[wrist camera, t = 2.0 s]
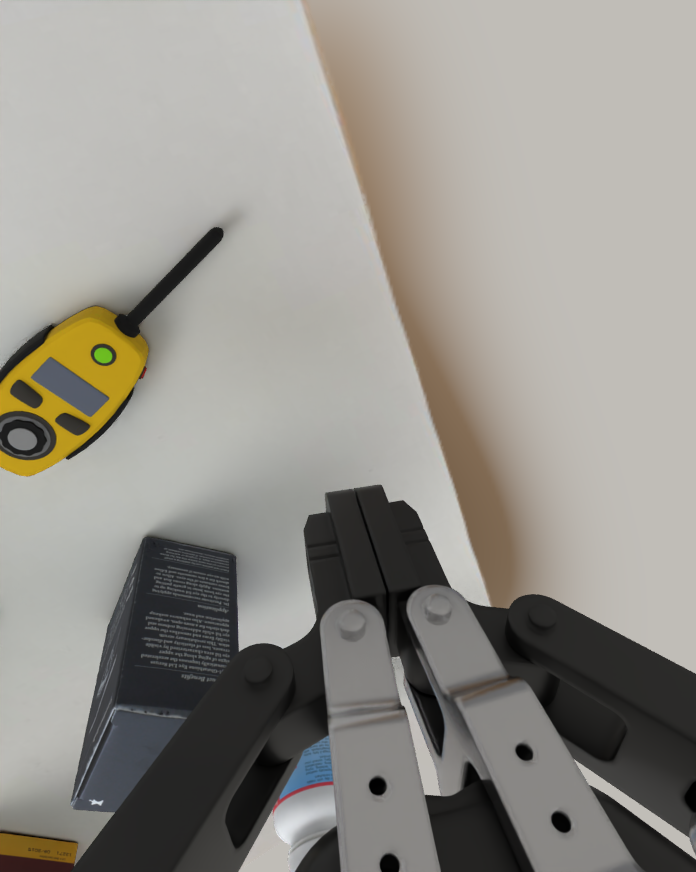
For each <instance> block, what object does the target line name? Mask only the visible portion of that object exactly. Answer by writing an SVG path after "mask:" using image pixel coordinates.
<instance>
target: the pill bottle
mask: <svg viewBox="0 0 696 872" xmlns="http://www.w3.org/2000/svg"><path fill="white" fill-rule="evenodd" d="M273 818H274V826H275V830H276V832H277V834H278V836H279V837H280V838H281V839H282V840H283V841H284V842H286V843H287V844H289V845H291V848H290V850H289V853H288V855H289V858H288V864H289V872H295V870H296V869H297V867H298V865H299V864H300V862H301V860H302V859H303V858H304V856H305V855H306V854H307V852H308V851H309V850H310V848H311V847H312V846H313V845H314V844H315V843H316V842H317V841H318V840H319V839H320V838H321V837H322V836H323V835H324V834H326V833H327V832H328V831H329V830H331V829H332V828H333V827H335V826H337V821H336V809H335V798H334V786H333V775H332V764H331V752H330V741H329V735H328V736H327V737H325V738H324V739H322V740H320V741H319V742H317V743H315V744H314V745H312V746H311V747H309V748H307V749H306V750H304V751H303V754H302V756H301V758H300V760H299V762H298V764H297V766H296V768H295V769H294V771H293V773H292V775H291V777H290V779H289V780H288V782H287V784H286V786H285V788H284V789H283V791H282V793H281V795H280V797H279V799H278V800H277V802H276V804H275V806H274V808H273Z"/></svg>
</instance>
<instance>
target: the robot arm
mask: <svg viewBox="0 0 696 872" xmlns="http://www.w3.org/2000/svg"><path fill="white" fill-rule="evenodd" d="M325 502H326V513H320V514H313V515H309V517H308V519H307V522H306V525H305V528H304V538H305V548H306V557H307V566H308V574H309V579H310V585H311V591H312V596H313V602H314V608H315V613H316V619H317V620H316V622H315V624H314V626H313V628H312V629H311V631H310V632H309V633H308V634H307V635H306V636H305V637H304V638H302V639H301V640H299V641H298V642H296V643H294V644H292V645H290V646H288V647H286V648H284V649H282V648H280V647H278V646H276V645H273V644H265V643H261V644H255V645H252V646H249V647H247V648H245V649H243V650H241V651H240V652H239V653H237V654H236V655H235V656H234V657H233V658H232V659H231V661H230V662H229V663H228V665H227V666H226V667H225V669H224V670H223V671H222V672H221V674H220V675H219V676H218V678H217V679H216V680H215V682H214V683H213V684H212V686H211V687H210V688H209V690H208V691H207V692H206V694H205V695H204V696H203V697H202V699H201V700H200V701H199V703H198V704H197V705H196V707H195V708H194V709H193V711H192V712H191V713H190V715H189V716H188V717H187V719H186V720H185V721H184V723H183V724H182V725H181V726H180V728H179V729H178V730H177V732H176V733H175V734H174V736H173V737H172V738H171V740H170V741H169V742H168V744H167V745H166V746H165V748H164V749H163V750H162V752H161V753H160V754H159V755H158V757H157V758H156V759H155V761H154V762H153V763H152V765H151V766H150V767H149V769H148V770H147V771H146V773H145V774H144V775H143V777H142V778H141V779H140V780H139V782H138V783H137V784H136V786H135V787H134V788H133V790H132V791H131V792H130V794H129V795H128V796H127V798H126V799H125V800H124V802H123V803H122V804H121V806H120V807H119V808H118V809H117V811H116V812H115V813H114V815H113V816H112V817H111V819H110V820H109V821H108V823H107V824H106V825H105V827H104V828H103V829H102V831H101V832H100V833H99V835H98V836H97V837H96V838H95V840H94V841H93V842H92V844H91V845H90V846H89V848H88V849H87V850H86V852H85V853H84V854H83V856H82V857H81V858H80V860H79V861H78V862H77V863H76V865H75V866H74V867H73V869H72V870H71V871H70V872H238V871H239V869H240V867H241V866H242V864H243V862H244V860H245V858H246V857H247V855H248V853H249V851H250V849H251V847H252V846H253V844H254V842H255V840H256V838H257V837H258V835H259V833H260V831H261V829H262V828H263V826H264V824H265V822H266V820H267V818H268V817H269V815H270V813H271V811H272V809H273V808H274V806H275V804H276V802H277V800H278V799H279V797H280V795H281V793H282V791H283V789H284V788H285V786H286V784H287V782H288V780H289V779H290V777H291V775H292V773H293V771H294V769H295V768H296V766H297V764H298V762H299V760H300V758H301V756H302V754H303V751H304V750H306V749H307V748H309V747H311V746H312V745H314V744H315V743H317V742H319V741H320V740H322V739H324V738H325V737H327V736H328V735H329V741H330V752H331V764H332V775H333V786H334V798H335V809H336V821H337V826H335V827H333V828H332V829H331V830H329V831H328V832H327V833H326V834H324V835H323V836H322V837H321V838H320V839H319V840H318V841H317V842H316V843H315V844H314V845H313V846H312V847H311V848H310V850H309V851H308V852H307V854H306V855H305V856H304V858H303V859H302V860H301V862H300V864H299V865H298V867H297V869H296V870H295V872H696V860H695V859H694V858H693V857H691V856H690V855H689V854H687V853H686V852H684V851H683V850H682V849H681V848H679V847H678V846H676V845H675V844H674V843H672V842H671V841H669V840H668V839H667V838H666V837H664V836H663V835H661V834H660V833H659V832H657V831H656V830H655V829H653V828H652V827H650V826H649V825H648V824H646V823H645V822H643V821H642V820H641V819H640V818H638V817H637V816H635V815H634V814H633V813H631V812H630V811H629V810H627V809H626V808H625V807H623V806H622V805H620V804H619V803H618V802H616V801H615V800H614V799H612V798H611V797H609V796H608V795H606V794H605V793H603V792H601V791H599V790H598V789H596V788H594V787H592V786H590V785H588V783H587V781H586V779H585V778H584V776H583V774H582V773H581V771H580V769H579V768H578V766H577V764H576V763H575V761H574V759H575V760H576V761H578V762H579V763H581V764H582V765H584V766H585V767H586V768H588V769H589V770H591V771H593V772H594V773H595V774H597V775H598V776H600V777H601V778H603V779H604V780H606V781H607V782H608V783H610V784H611V785H613V786H614V787H616V788H617V789H619V790H620V791H622V792H623V793H625V794H626V795H628V796H629V797H631V798H632V799H634V800H635V801H636V802H638V803H640V804H641V805H642V806H644V807H645V808H647V809H648V810H650V811H651V812H652V813H654V814H656V815H657V816H658V817H660V818H661V819H663V820H664V821H666V822H667V823H669V824H670V825H672V826H673V827H675V828H676V829H677V830H679V831H680V832H682V833H683V834H685V835H686V836H688V837H689V838H690V842H691V845H692V848H693V850H694V852H695V854H696V674H695V673H693V672H691V671H689V670H687V669H685V668H684V667H682V666H680V665H678V664H676V663H674V662H672V661H670V660H668V659H666V658H665V657H662V656H661V655H659V654H657V653H655V652H653V651H651V650H649V649H647V648H646V647H644V646H641V645H640V644H638V643H636V642H634V641H632V640H630V639H628V638H626V637H625V636H623V635H621V634H619V633H617V632H615V631H613V630H611V629H609V628H607V627H605V626H604V625H602V624H600V623H598V622H596V621H594V620H592V619H590V618H588V617H586V616H585V615H583V614H581V613H579V612H577V611H575V610H573V609H571V608H569V607H567V606H565V605H564V604H561V603H560V602H558V601H556V600H554V599H552V598H550V597H546V596H543V595H535V594H531V595H525V596H522V597H519V598H518V599H516V600H515V601H514V602H513V603H512V604H511V606H510V608H509V609H506V608H496V607H486V606H480V605H476V604H473V603H471V602H468V601H467V600H465V598H464V597H463V596H462V595H461V594H460V593H458V592H457V591H455V590H454V589H452V588H451V586H450V584H449V583H448V580H447V578H446V576H445V574H444V572H443V569H442V567H441V565H440V563H439V561H438V558H437V556H436V554H435V552H434V549H433V547H432V545H431V543H430V541H429V540H428V536H427V534H426V532H425V530H424V529H423V525H422V523H421V521H420V519H419V516H418V514H417V512H416V511H415V510H414V509H413V508H411V507H410V506H409V505H408V504H407V503H406V502H404V501H403V500H402V501H396V502H390V503H389V502H388V499H387V497H386V494H385V492H384V489H383V487H382V485H373V486H367V487H360V488H354V490H353V489H348V490H341V491H334V492H328V493H325ZM397 656H400V658H401V662H402V665H403V668H404V686H405V690H406V692H407V695H408V698H409V700H410V703H411V705H412V708H413V710H414V713H415V716H416V718H417V721H418V723H419V726H420V729H421V731H422V734H423V736H424V739H425V741H426V744H427V747H428V749H429V752H430V754H431V757H432V759H433V762H434V765H435V769H436V772H437V777H438V784H439V789H440V793H441V796H433V795H424V790H423V786H422V781H421V776H420V772H419V767H418V762H417V758H416V753H415V748H414V744H413V739H412V734H411V730H410V725H409V720H408V716H407V713H406V710H405V707H404V706H402V705H401V702H400V698H399V694H398V689H397V684H396V679H395V674H394V670H393V665H392V660H391V657H397Z"/></svg>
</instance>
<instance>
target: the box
mask: <svg viewBox="0 0 696 872" xmlns="http://www.w3.org/2000/svg"><path fill="white" fill-rule="evenodd" d="M237 653H239V644H238V608H237V573H236V556H234V555H231V554H228V553H224V552H219V551H215V550H211V549H205V548H200V547H196V546H191V545H187V544H181V543H176V542H172V541H166V540H162V539H156V538H150V537H145V538H144V539H143V540H142V543H141V545H140V548H139V550H138V553H137V555H136V557H135V559H134V562H133V565H132V568H131V570H130V572H129V575H128V577H127V580H126V583H125V584H124V588H123V591H122V593H121V595H120V598H119V600H118V603H117V606H116V608H115V610H114V613H113V615H112V618H111V620H110V623H109V625H108V628H107V633H106V639H105V643H104V647H103V653H102V657H101V662H100V667H99V672H98V676H97V682H96V686H95V691H94V696H93V700H92V705H91V709H90V714H89V718H88V723H87V728H86V733H85V737H84V743H83V748H82V752H81V757H80V761H79V766H78V772H77V775H76V779H75V784H74V790H73V795H72V799H71V803H70V805H71V806H72V807H73V809H75V810H88V811H100V812H116V811H117V809H118V808H119V807H120V806H121V804H122V803H123V802H124V800H125V799H126V798H127V796H128V795H129V794H130V792H131V791H132V790H133V788H134V787H135V786H136V784H137V783H138V782H139V780H140V779H141V778H142V777H143V775H144V774H145V773H146V771H147V770H148V769H149V767H150V766H151V765H152V763H153V762H154V761H155V759H156V758H157V757H158V755H159V754H160V753H161V752H162V750H163V749H164V748H165V746H166V745H167V744H168V742H169V741H170V740H171V738H172V737H173V736H174V734H175V733H176V732H177V730H178V729H179V728H180V726H181V725H182V724H183V723H184V721H185V720H186V719H187V717H188V716H189V715H190V713H191V712H192V711H193V709H194V708H195V707H196V705H197V704H198V703H199V701H200V700H201V699H202V697H203V696H204V695H205V694H206V692H207V691H208V690H209V688H210V687H211V686H212V684H213V683H214V682H215V680H216V679H217V678H218V676H219V675H220V674H221V672H222V671H223V670H224V669H225V667H226V666H227V665H228V663H229V662H230V661H231V659H232V658H233V657H234V656H235V655H236V654H237Z"/></svg>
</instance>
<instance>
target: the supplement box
mask: <svg viewBox="0 0 696 872" xmlns="http://www.w3.org/2000/svg"><path fill="white" fill-rule="evenodd" d="M77 847H78V843H72V842H64V841H56V840H49V839H42V838H35V837H28V836H20V835H13V834H5V833H0V872H70V871H71V870H72V869H73V867H74V863H75V858H76V852H77Z"/></svg>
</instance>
